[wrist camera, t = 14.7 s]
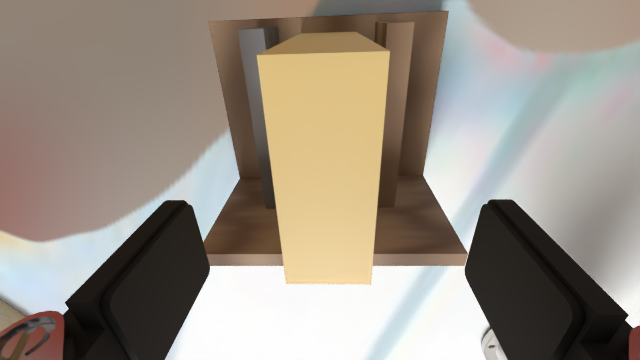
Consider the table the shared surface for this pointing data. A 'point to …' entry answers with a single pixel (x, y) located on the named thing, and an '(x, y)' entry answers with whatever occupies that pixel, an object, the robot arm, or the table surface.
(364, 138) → the ochre book
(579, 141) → the table surface
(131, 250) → the robot arm
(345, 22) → the shelf
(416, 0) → the table surface
